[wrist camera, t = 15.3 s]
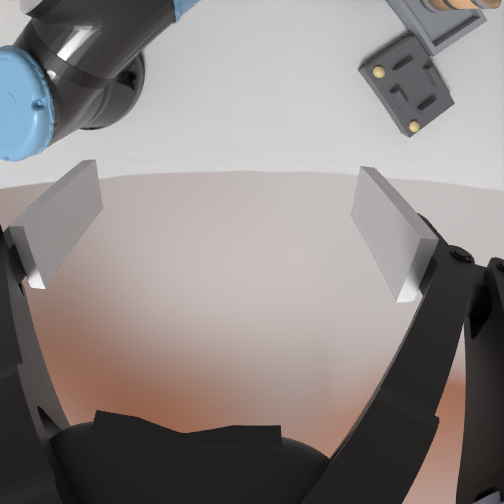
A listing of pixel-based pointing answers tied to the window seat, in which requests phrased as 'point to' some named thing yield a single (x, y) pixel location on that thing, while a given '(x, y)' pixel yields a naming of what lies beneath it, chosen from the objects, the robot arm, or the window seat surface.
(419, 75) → the fuse holder
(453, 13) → the parts tray
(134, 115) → the window seat surface
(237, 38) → the window seat surface
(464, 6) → the fuse
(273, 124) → the window seat surface
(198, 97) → the window seat surface
